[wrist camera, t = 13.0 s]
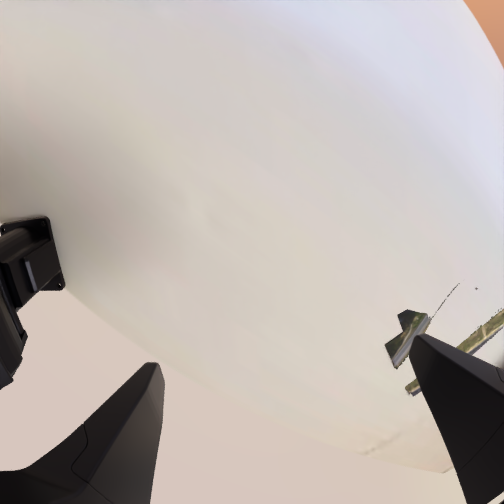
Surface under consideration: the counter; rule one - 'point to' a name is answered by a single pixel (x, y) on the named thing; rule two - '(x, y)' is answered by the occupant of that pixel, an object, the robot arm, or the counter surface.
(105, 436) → the robot arm
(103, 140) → the counter surface
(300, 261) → the counter surface
